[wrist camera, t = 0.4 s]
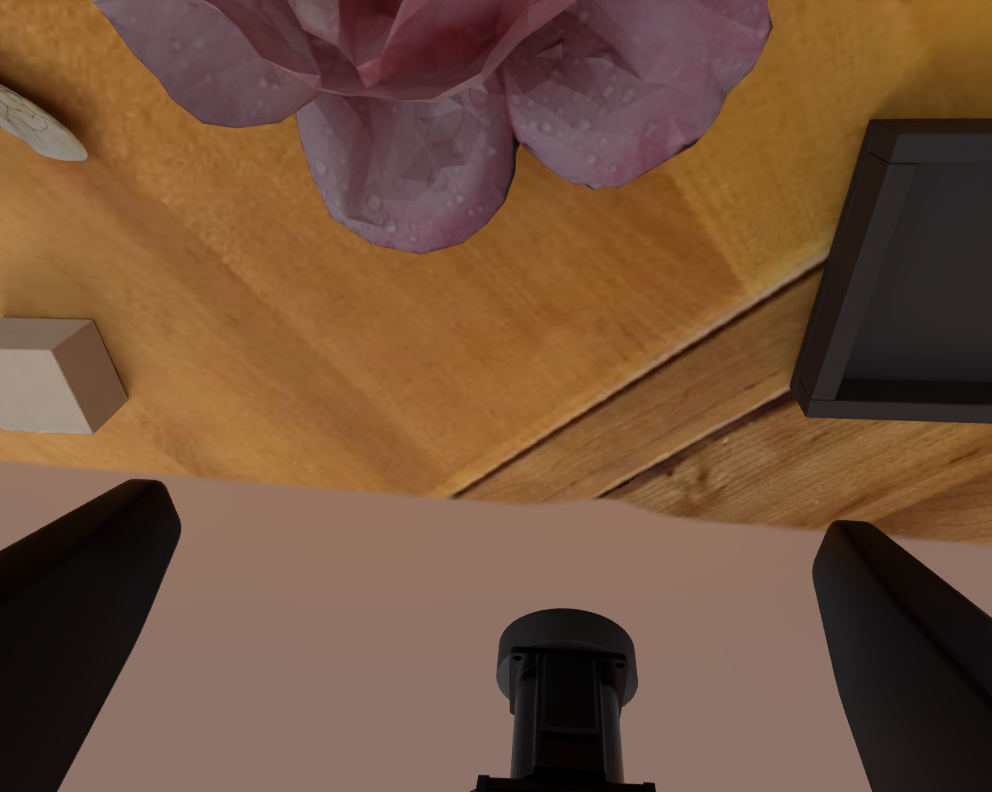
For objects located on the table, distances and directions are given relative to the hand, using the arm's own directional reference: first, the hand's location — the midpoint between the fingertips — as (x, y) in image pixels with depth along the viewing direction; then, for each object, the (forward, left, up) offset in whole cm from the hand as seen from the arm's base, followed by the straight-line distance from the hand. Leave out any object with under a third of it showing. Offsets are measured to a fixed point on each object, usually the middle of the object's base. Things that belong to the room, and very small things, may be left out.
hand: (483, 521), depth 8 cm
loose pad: (-7, +20, -15) cm, 26 cm away
